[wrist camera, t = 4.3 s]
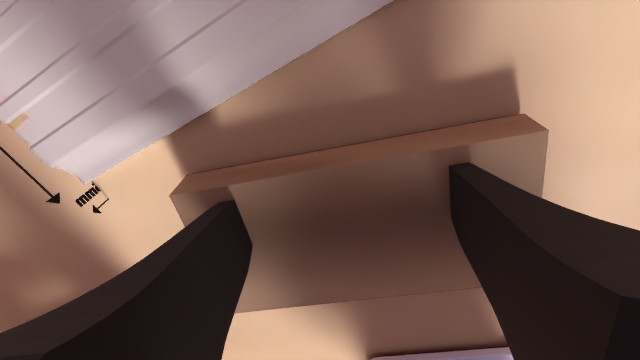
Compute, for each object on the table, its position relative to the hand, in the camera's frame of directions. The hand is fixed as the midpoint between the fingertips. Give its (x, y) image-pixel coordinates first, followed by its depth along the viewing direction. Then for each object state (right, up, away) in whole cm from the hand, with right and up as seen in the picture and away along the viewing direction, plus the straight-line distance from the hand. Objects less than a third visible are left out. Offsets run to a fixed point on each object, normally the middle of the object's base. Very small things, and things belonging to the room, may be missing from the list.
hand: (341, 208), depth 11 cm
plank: (+1, 0, +2) cm, 2 cm away
